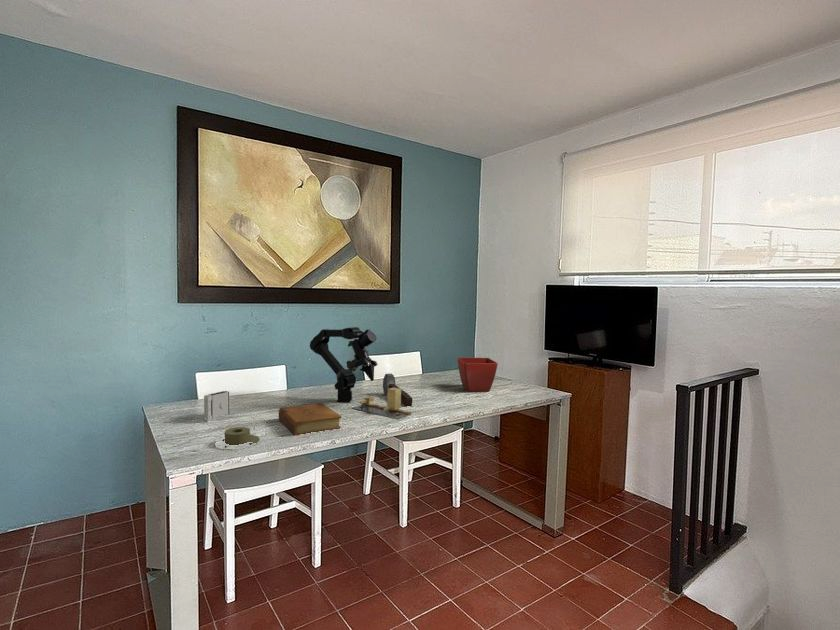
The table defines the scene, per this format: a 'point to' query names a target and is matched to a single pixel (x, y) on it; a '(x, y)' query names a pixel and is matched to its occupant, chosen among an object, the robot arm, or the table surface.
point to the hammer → (390, 383)
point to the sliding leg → (393, 399)
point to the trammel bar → (369, 402)
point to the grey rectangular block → (216, 404)
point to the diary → (309, 418)
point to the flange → (239, 436)
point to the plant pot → (477, 373)
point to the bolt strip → (380, 411)
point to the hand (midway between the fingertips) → (372, 380)
